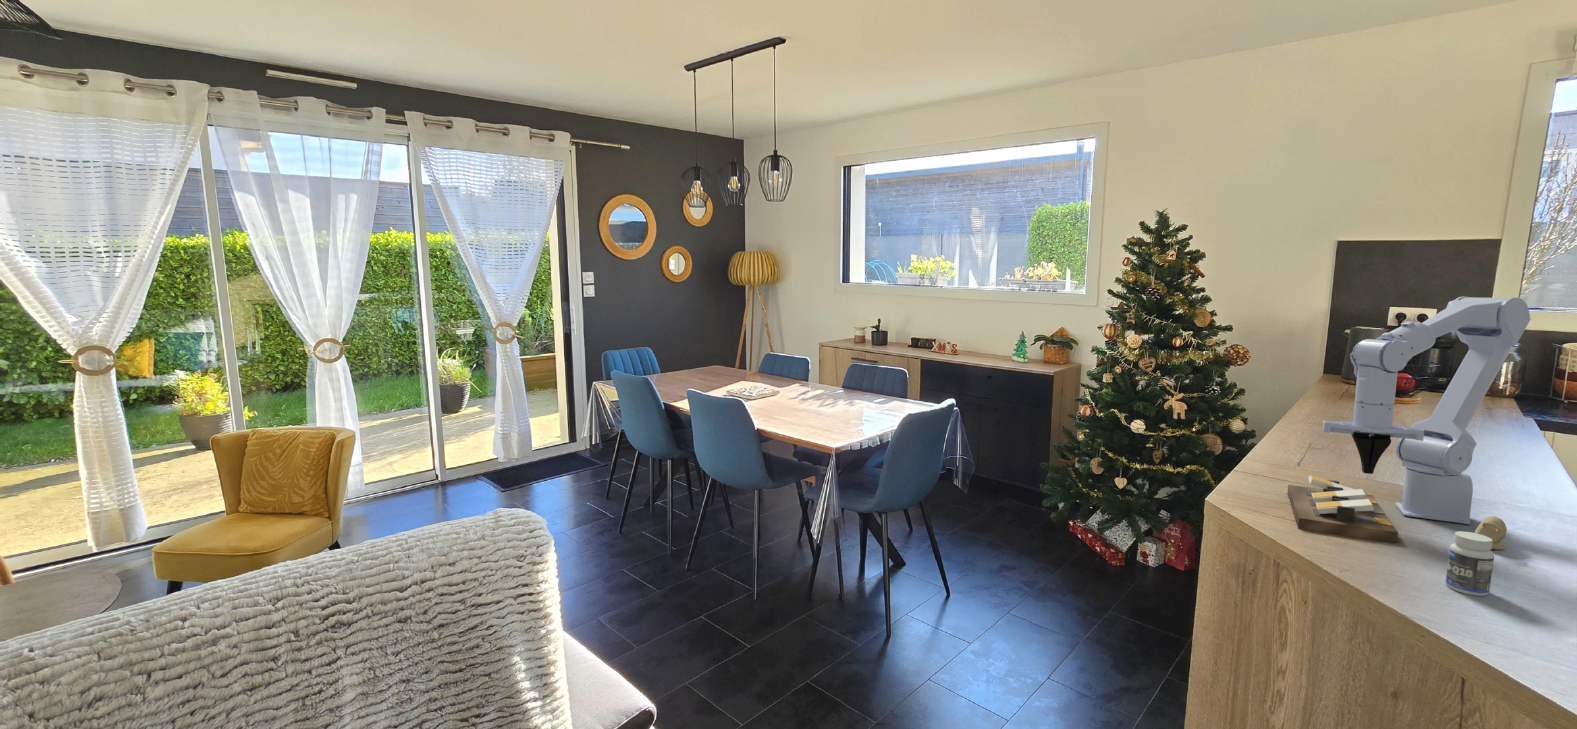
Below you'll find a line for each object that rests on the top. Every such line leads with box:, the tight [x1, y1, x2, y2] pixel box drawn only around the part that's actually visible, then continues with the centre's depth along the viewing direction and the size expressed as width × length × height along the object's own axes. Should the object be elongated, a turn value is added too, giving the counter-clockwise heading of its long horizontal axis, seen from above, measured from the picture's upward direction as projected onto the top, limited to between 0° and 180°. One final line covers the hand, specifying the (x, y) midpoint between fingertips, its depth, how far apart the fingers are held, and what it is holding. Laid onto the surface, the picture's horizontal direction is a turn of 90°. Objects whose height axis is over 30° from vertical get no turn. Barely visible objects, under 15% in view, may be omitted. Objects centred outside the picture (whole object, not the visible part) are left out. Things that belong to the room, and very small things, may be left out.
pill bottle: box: [1445, 530, 1495, 597], centre depth 101 cm, size 5×5×8 cm
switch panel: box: [1286, 479, 1399, 544], centre depth 133 cm, size 14×24×5 cm, turn 148°
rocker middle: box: [1311, 488, 1367, 503], centre depth 132 cm, size 8×4×1 cm, turn 58°
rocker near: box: [1316, 499, 1374, 514], centre depth 127 cm, size 8×4×1 cm, turn 57°
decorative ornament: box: [1473, 515, 1508, 551], centre depth 117 cm, size 4×8×5 cm, turn 128°
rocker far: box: [1308, 474, 1356, 490], centre depth 138 cm, size 8×4×1 cm, turn 58°
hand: (1367, 472), depth 130 cm, fingers closed
